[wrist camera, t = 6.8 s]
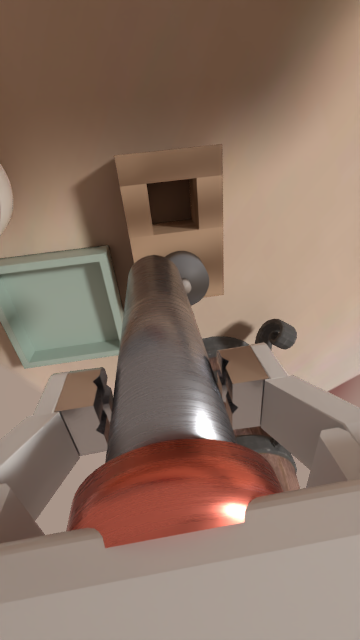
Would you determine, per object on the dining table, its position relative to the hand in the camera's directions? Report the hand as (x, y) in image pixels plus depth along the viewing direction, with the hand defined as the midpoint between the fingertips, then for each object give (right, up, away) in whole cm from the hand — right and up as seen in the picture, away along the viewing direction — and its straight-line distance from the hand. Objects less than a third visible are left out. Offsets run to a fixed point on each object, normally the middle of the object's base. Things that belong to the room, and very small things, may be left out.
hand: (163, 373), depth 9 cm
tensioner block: (0, +12, +22) cm, 25 cm away
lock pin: (-1, +4, +7) cm, 8 cm away
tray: (-13, +4, +25) cm, 29 cm away
